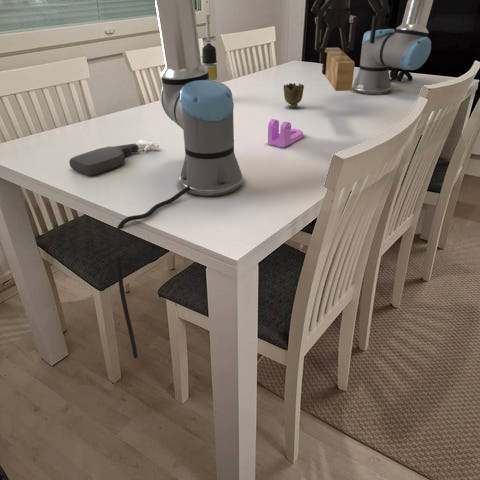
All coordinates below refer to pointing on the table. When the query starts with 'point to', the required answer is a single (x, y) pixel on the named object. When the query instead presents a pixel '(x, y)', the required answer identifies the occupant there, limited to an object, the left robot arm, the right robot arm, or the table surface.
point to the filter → (209, 55)
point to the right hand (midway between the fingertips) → (331, 73)
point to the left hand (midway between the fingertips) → (346, 42)
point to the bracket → (282, 134)
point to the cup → (293, 94)
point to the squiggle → (400, 76)
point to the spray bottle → (106, 157)
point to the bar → (339, 69)
